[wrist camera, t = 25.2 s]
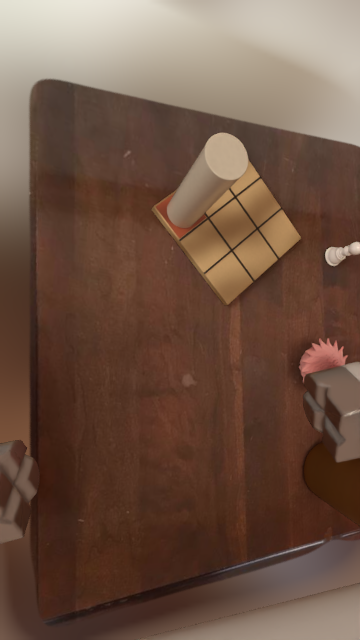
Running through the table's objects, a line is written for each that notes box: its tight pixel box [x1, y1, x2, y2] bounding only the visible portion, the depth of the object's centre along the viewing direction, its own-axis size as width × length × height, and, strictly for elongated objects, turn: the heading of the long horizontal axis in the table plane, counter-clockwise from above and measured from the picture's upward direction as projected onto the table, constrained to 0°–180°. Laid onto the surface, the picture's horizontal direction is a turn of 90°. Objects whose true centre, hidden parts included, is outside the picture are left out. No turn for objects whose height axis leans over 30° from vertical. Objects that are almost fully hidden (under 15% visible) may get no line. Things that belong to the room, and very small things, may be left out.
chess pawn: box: [325, 242, 360, 266], centre depth 42 cm, size 3×3×5 cm
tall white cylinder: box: [167, 133, 248, 228], centre depth 30 cm, size 4×4×12 cm
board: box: [152, 160, 301, 305], centre depth 39 cm, size 15×15×1 cm
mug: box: [304, 443, 360, 526], centre depth 38 cm, size 12×8×9 cm, turn 179°
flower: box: [299, 338, 348, 382], centre depth 39 cm, size 8×8×6 cm
